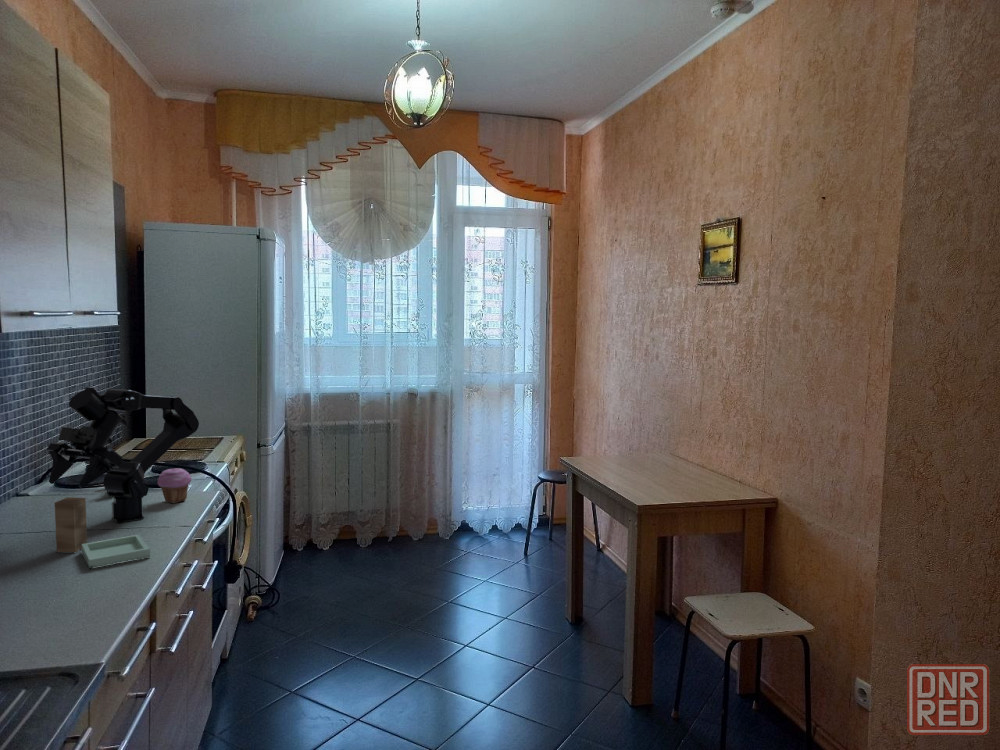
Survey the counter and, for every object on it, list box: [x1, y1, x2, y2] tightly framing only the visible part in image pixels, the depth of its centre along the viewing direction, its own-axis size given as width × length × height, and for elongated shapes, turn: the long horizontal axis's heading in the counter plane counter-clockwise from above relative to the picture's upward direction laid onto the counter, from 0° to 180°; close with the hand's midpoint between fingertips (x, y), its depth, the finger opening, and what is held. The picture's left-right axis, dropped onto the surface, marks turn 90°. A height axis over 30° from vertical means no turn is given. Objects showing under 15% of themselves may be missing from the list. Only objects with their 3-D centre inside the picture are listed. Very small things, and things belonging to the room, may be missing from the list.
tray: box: [81, 534, 151, 569], centre depth 154 cm, size 12×12×2 cm
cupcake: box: [157, 467, 192, 504], centre depth 197 cm, size 9×9×10 cm
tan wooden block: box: [54, 496, 88, 553], centre depth 157 cm, size 4×4×12 cm
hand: (65, 485), depth 162 cm, fingers open, 9 cm apart
